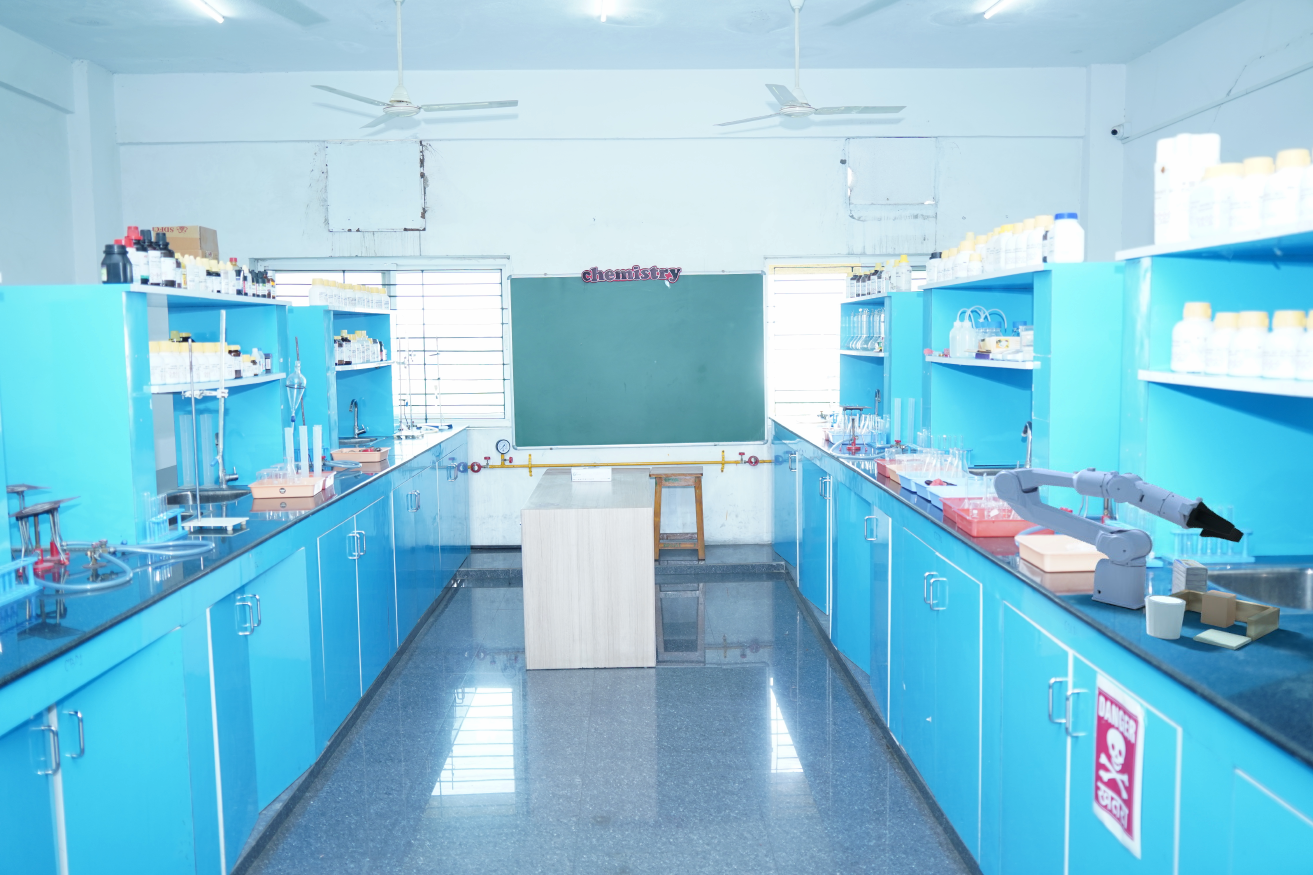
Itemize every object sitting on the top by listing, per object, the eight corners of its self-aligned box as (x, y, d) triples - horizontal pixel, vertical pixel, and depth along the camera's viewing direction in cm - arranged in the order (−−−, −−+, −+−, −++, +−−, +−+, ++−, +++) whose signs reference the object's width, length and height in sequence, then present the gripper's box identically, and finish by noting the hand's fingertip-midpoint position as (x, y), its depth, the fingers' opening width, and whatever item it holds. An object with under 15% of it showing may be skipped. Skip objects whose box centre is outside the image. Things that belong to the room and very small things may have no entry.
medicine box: (1206, 607, 194) (1209, 567, 193) (1183, 606, 195) (1186, 566, 194) (1192, 597, 202) (1195, 559, 201) (1170, 596, 203) (1173, 558, 202)
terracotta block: (1200, 622, 184) (1202, 593, 183) (1209, 618, 187) (1211, 589, 186) (1225, 628, 180) (1227, 598, 180) (1234, 623, 183) (1236, 594, 183)
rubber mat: (1193, 639, 173) (1193, 636, 173) (1210, 631, 178) (1210, 628, 178) (1234, 649, 167) (1234, 646, 167) (1251, 641, 172) (1251, 637, 172)
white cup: (1191, 639, 173) (1194, 603, 172) (1156, 640, 172) (1159, 604, 172) (1168, 628, 180) (1171, 593, 179) (1135, 629, 179) (1137, 594, 178)
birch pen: (1156, 618, 186) (1157, 599, 186) (1184, 607, 194) (1185, 588, 194) (1253, 640, 172) (1254, 620, 172) (1278, 627, 181) (1280, 608, 180)
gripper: (1167, 479, 184) (1238, 508, 174) (1186, 496, 194) (1254, 523, 184) (1150, 510, 184) (1220, 540, 175) (1170, 525, 194) (1237, 554, 185)
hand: (1236, 534), depth 179 cm, fingers open, 7 cm apart
